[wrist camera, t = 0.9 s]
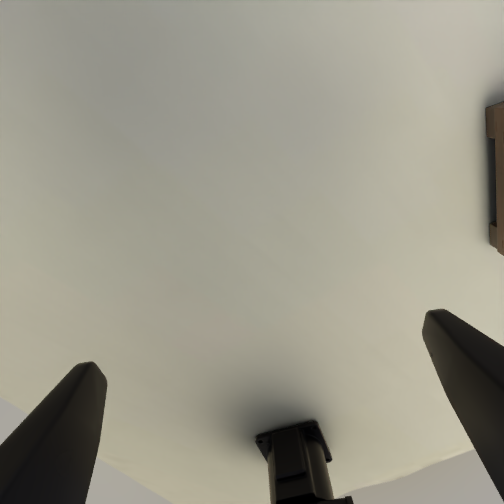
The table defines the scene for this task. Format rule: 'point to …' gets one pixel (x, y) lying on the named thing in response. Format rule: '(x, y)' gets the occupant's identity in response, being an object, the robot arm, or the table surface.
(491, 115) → the stand
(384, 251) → the table surface
